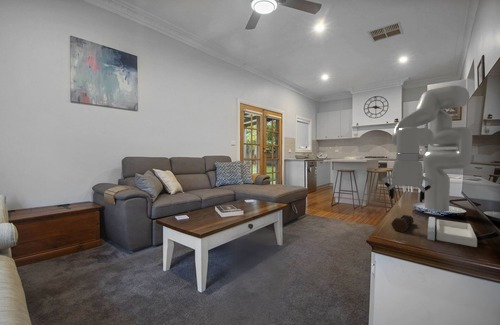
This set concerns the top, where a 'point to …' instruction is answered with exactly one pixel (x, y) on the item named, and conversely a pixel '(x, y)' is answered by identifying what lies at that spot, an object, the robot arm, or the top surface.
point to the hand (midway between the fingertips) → (406, 200)
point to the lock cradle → (456, 233)
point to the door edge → (431, 228)
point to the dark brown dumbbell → (402, 223)
